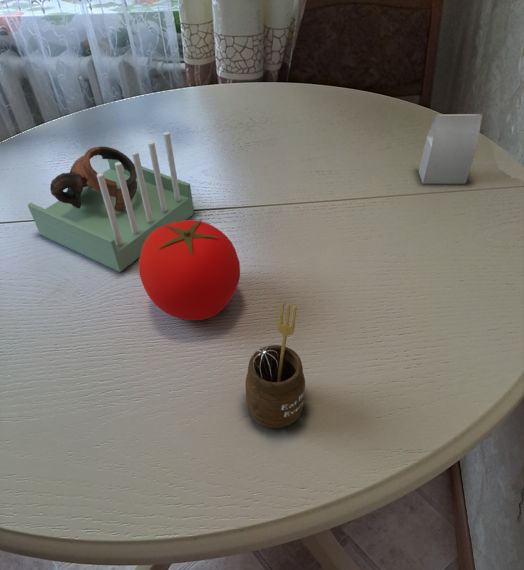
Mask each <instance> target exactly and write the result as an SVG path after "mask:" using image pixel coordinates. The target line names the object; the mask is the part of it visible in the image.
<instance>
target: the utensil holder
mask: <svg viewBox="0 0 524 570" xmlns="http://www.w3.org/2000/svg"><path fill="white" fill-rule="evenodd" d="M291 306H292V305H291V304H290V303H287V304H286V311H285V318H284V310H285V302H284V301H282V302H280V307H279V314H278V323H277V331H278V332H279V333H280V334H281V335H282V340H281V344H270V345H266V346H263V347H262V346H260V347H259V349H258V350H255V351H254V352H253V353H252V355H251V357H250V359H249V362H248V367H247V374H246V376H245V396H246V406H247V410H248V413H249V416H251V418H252V419H253V420H254V421H255V422H256V423H257V424H258V425H261V426H263V427H266V428H268V429H281V428H286V427H288V426H291V425H292V424H293V423H295V422H296V421H297V420H298V419H299V418H300V416H301V414H302V412H303V410H304V406H305V405H304V404H305V395H306V378H305V374H304V368H303V363H302V360H301V357H300V356H299V354H298V353H297V352H296V351H294V350H293V349H292V348H290V347H288V346H287V345H286V344H287V337H288V336H291V335H293V334H294V332H295V325H296V318H297V310H298V306H297V305H293V308H292V313H291ZM290 313H291V314H292V315H291V321H290ZM283 319H284V322H283ZM289 322H290V324H289Z"/></svg>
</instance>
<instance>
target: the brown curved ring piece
mask: <svg viewBox="0 0 524 570" xmlns="http://www.w3.org/2000/svg"><path fill="white" fill-rule="evenodd" d="M96 156H101V159H103V160H108V159H112V160H118V161H119V162H121V163H122V165H123V166H124V169H125V170H128V171H129V172H130V177H129V179H127V180H126V184H127V188H128V192H129V196H130V200H131V201H132V199H133V197H134V195H135V193H136V190H137V181H136V176H137V174H136V169H135V166H134V164H133V163H134V161H132V159H130V157H128V156H127V155H126V154H125V153H123V152H122V151H120V150H118V149H115V148H113V147H109V146H94V147H91V148H89V149H88V150H87V151H85V153H84V155H81V156H79V158H77V159H76V160H75V161H74V163H72V166H71V168H70V169H69V172H61V173H60V174H58V175H56V177H55V178H52V180H51V182H50V187H49V190H50V193H51V195H52V196H53V197H54V198H55V199H56V200H57V201H60V202H63V203H69V204H72V205H73V206H74V207H76V208H80V207H81V203H80V198H81V193H82V191H83V187H89V186H90V187H92V188H94V189H96V190H98V191H101V189H100V185H99V182H98V179H97V174H99V173H98V172H97V171H96V170H95V169H94V168H93V166H92V164H91V159H93V158H94V157H96ZM105 181H106V185H107V188H108V192H109V195H110V196H114V197H116V205H115V208H114V209H115V210H116V211H124V210H125V209H126V206H125V202H124V198H123V194H122V190H121V188H120V189H117V184H116V182H115V181H112V180H108V179H106V178H105Z"/></svg>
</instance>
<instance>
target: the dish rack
mask: <svg viewBox="0 0 524 570" xmlns="http://www.w3.org/2000/svg"><path fill="white" fill-rule="evenodd" d="M163 138H164V143H165V145H164V146H165V150H166V156H167V162H168V167H169V172H170V175H167V174H164V173H161V170H160V169H161V168H160V163H159V160H158V153H157V148H156V143H155V141H153V140H152V141H151V140H150V141H148V143H147V145H148V149H149V154H150V155H149V156H150V159H151V166H152V169H150V168H147V167H144V166H142V163H141V158H140V154H139V152H138V151H137V150H135V151H132V152H131V156H132V160H133V161H132V162H133V164H134V166H135V169H136V174H137V176H136V181H137V190H136V193H135V195H134V197H133V199H132V201H131V200H130V196H129V192H128V188H127V184H126V180H127V179H129V177H130V172H129V171H128V170H125V169H124V166H123V165H122V163H121V162H119V161H118V160H112V159H107V162H108V165H109V168H108V169H107V170H105V171H103V172H99V173H98V174H97V179H98V182H99V185H100V189H101V191H98V190H96V189H94V188H92V187H90V186H89V187H83V191H82V193H81V198H80V203H81V207H80V208H76V207H74V206H73V205H72V204H69V203H63V202H60V201H59V200H57V201H56V202H54V203H53V204H51V205H49V206H47V207H46V208H44V207H41V206H39V205H37V204H35V203H33V202H29V203H27V207H28V210H29V212H30V214H31V217H32V219H33V221H34V224H35V226H36V228H37V231H38V233H39V235H40V236H43V237H45V238H47V239H49V240H51V241H53V242H56V243H57V244H60V245H61V246H64V247H66V248H68V249H70V250H72V251H74V252H76V253H78V254H81V255H83V256H86V257H87V258H89V259H90V260H93V261H96V262H98V263H99V264H102V265H103V266H106V267H108V268H110V269H112V270H114V271H116V272H119V273H121V272H123V271H124V270H125V269H126V268H128V267H129V266H130V265H131V264H133V263H134V262H136V261H137V260H139V259H140V255H141V251H142V247H143V245H144V243H145V241H146V239H147V238H148V236H149V235H150V234H151V233H152V232H153V231H154V230H155V229H157V228H159V227H161V226H164V225H166V224H170V223H174V222H178V221H184V220H189V218H190V217H192V216H193V215H194V214H195V210H194V209H195V207H194V202H193V195H192V188H191V183H189V182H186V181H185V180H181V179H178V176H177V169H176V162H175V157H174V151H173V144H172V138H171V133H170V132H169V131H164V132H163ZM105 178H106V179H108V180H112V181H115V182H116V184H117V189H120V188H121V190H122V194H123V198H124V202H125V206H126V209H125V210H124V211H116V210H115V209H114V208H115V205H116V197H114V196H110V195H109V192H108V188H107V185H106V181H105Z"/></svg>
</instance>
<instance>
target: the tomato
mask: <svg viewBox="0 0 524 570" xmlns="http://www.w3.org/2000/svg"><path fill="white" fill-rule="evenodd" d="M202 220H203V218H201V219H200V220H195V219H187V220H184V221H178V222H174V223H170V224H166V225H164V226H161V227H159V228H157V229H155V230H154V231H153V232H152V233H151V234H150V235H149V236H148V238H147V239H146V241H145V243H144V245H143V247H142V251H141V255H140V257H139V258H138V273H139V277H140V280H141V283H142V286H143V288H144V291H145V293H146V294H147V296H148V297H149V298H150V300H151V301H152V302H153V304H154V305H155V306H156V307H157V308H159V309H160V310H161V311H163V312H164V313H165V314H167V315H169V316H171V317H174V318H176V319H177V318H178V319H182V320H184V321H185V320H186V321H201V320H202V321H203V320H206V319H210V318H213V317H214V316H216V315H218V314H219V313H221V312H222V310H223V309H225V307H226V306H227V305H228V303H230V302H231V300H232V298H233V297H234V295H235V293H236V291H237V288H238V286H239V283H240V278H241V265H240V263H241V262H240V259H239V257H238V254H237V251H236V248H235V246H234V244H233V242H232V241H231V240H230V238H229V237H228V236H227V235H226V234H225V233H224V232H223V231H221V229H219V228H217V227H216V226H214V225H212V224H210V223H208V222H205V221H202Z"/></svg>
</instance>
